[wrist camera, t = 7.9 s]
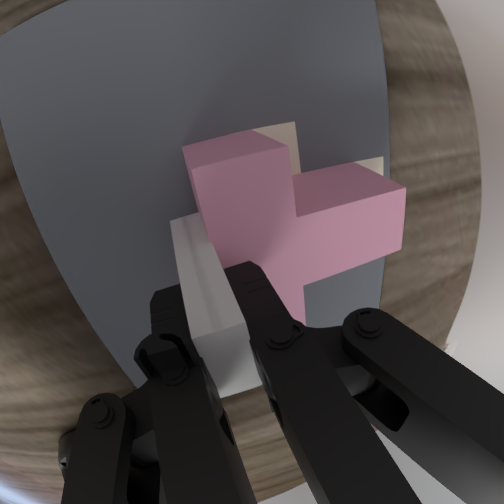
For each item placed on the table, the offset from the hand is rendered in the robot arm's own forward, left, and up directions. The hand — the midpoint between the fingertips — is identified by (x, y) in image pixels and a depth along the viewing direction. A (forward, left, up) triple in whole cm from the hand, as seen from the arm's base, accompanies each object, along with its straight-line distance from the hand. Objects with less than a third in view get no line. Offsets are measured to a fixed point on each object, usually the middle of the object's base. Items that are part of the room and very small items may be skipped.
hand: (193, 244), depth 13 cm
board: (+2, 0, -3) cm, 3 cm away
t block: (+4, 0, -1) cm, 4 cm away
